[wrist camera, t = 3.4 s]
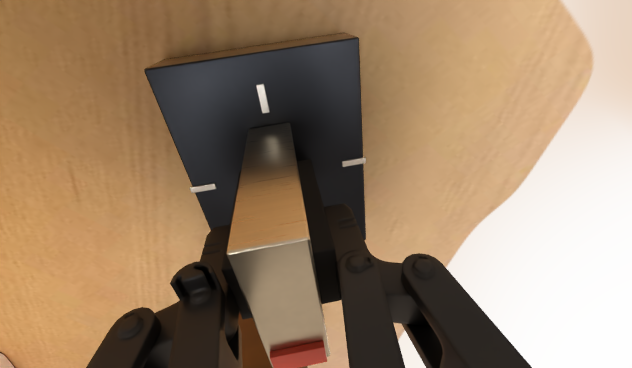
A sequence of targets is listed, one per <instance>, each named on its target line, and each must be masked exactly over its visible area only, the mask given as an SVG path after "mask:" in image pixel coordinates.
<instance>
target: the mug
mask: <svg viewBox="0 0 632 368" xmlns="http://www.w3.org/2000/svg"><path fill="white" fill-rule="evenodd" d="M238 324H239V326H240V329H241V333H242V364H243V368H273V367H272V365H271V363H270V360H269V358H268V355H267V353H266V350H265V348H264V345H263V343H262V340H261V338H260V335H259V333H258V330H257V328H256V326H255V323H254V321H253V318H248V319H242V316H241V314H240V312H239V319H238ZM299 368H307V366H303V367H299Z"/></svg>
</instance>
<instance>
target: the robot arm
mask: <svg viewBox="0 0 632 368" xmlns="http://www.w3.org/2000/svg"><path fill="white" fill-rule="evenodd" d="M297 166H298V172H299V178H300V183H301V189H302V195H303V201H304V206H305V212H306V218H307V224H308V229H309V235H310V241H311V246H312V252H313V258H314V264H315V269H316V275H317V281H318V286H319V292H320V298H321V304H324V303H329V302H334V301H339V300H342V306H343V315H344V324H345V332H346V341H347V350H348V359H349V367H350V368H405V365H404V362H403V358H402V354H401V351H400V347H399V343H398V339H397V335H396V332H395V328H394V324H393V322H394V323H401V324H402V325H403V327H404V329H405V331H406V332H407V334H408V336H409V338H410V340H411V341H412V343H413V345H414V347H415V348H416V350H417V352H418V354H419V355H420V357H421V359H422V361H423V363H424V364H425V366H426V368H532V367H531V366H530V365H529V364H528V363H527V361H526V360H525V359H524V358H523V357H522V356H521V355H520V353H519V352H518V351H517V350H516V349H515V348H514V346H513V345H512V344H511V343H510V342H509V341H508V339H507V338H506V337H505V336H504V335H503V334H502V333H501V331H500V330H499V329H498V328H497V327H496V326H495V325H494V323H493V322H492V321H491V320H490V319H489V317H488V316H487V315H486V314H485V313H484V312H483V311H482V309H481V308H480V307H479V306H478V305H477V304H476V302H475V301H474V300H473V299H472V298H471V297H470V296H469V294H468V293H467V292H466V291H465V290H464V289H463V287H462V286H461V285H460V284H459V283H458V282H457V280H456V279H455V278H454V277H453V276H452V275H451V274H450V272H449V271H448V270H447V269H446V268H445V267H444V265H443V264H442V263H441V262H440V261H438V260H437V259H436V258H434V257H432V256H430V255H426V254H412V255H410V256H408V257H406V258H405V260H404V261H403V263H392V262H385V261H382V260H379V259H377V258H375V257H374V256H373V255H372V254H371V253H370V252H369V250H368V249H367V246H366V244H365V241H364V239H363V236H362V234H361V231H360V229H359V226H358V224H357V221H356V219H355V217H354V214H353V212H352V209H351V208H349V207H348V206H347V205H346V204H345V203H343V204H337V205H332V206H326V207H324V205H323V202H322V198H321V194H320V191H319V187H318V183H317V180H316V176H315V172H314V169H313V165H312V161H311V159H309V160H303V161H297ZM240 175H241V171H239V177H238V182H237V188H236V193H235V198H234V204H233V209H232V214H231V220H230V225H225V226H219V227H214V228H213V229H212V230H211V232H210V233H209V234H208V235H207V237H206V241H205V245H204V248H203V252H202V255H201V259H200V262H194V263H191V264H189V265H186V266H185V267H183V268H182V269H180V270H179V271H178V272H177V273H176V274H175V275H174V277H173V278H172V281H171V283H170V284H171V286H172V287H173V289H174V291H175V292H176V294H177V296H178V297H179V299H180V301H178V302H177V303H175V304H173V305H171V306H169V307H167V308H165V309H163V310H161V311H158V312H156V313H154V312H153V311H152V310H150V309H149V308H143V307H142V308H138V309H134V310H132V311H130V312H128V313H126V314H124V315H123V316H122V317H121V318H120V319H118V320H117V321H116V322H115V324H114V325H113V326H112V327H111V329H110V330H109V332H108V333H107V335H106V337H105V338H104V340H103V341H102V343H101V345H100V346H99V348H98V350H97V351H96V353H95V354H94V356H93V358H92V359H91V361H90V362H89V364H88V366H87V367H86V368H243V364H242V333H241V329H240V326H239V324H238V319H239V312H240V314H241V316H242V319H248V318H252V316H251V313H250V311H249V308H248V306H247V303H246V301H245V298H244V296H243V293H242V291H241V288H240V286H239V283H238V281H237V278H236V276H235V273H234V271H233V268H232V266H231V263H230V261H229V258H228V256H227V248H228V242H229V237H230V231H231V225H232V220H233V214H234V209H235V203H236V197H237V192H238V186H239V180H240Z"/></svg>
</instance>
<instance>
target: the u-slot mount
mask: <svg viewBox="0 0 632 368" xmlns="http://www.w3.org/2000/svg"><path fill="white" fill-rule="evenodd" d="M0 368H14V366H13V365H12V364H11V363H10V361H9V360H8V359H7V358H6V357H5V356H4V355H3V354H1V353H0Z"/></svg>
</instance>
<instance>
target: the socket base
mask: <svg viewBox="0 0 632 368" xmlns="http://www.w3.org/2000/svg"><path fill="white" fill-rule="evenodd" d="M144 71H145V74H146V76H147V79H148V81H149V83H150V86H151V88H152V90H153V93H154V95H155V98H156V100H157V102H158V105H159V107H160V110H161V112H162V114H163V117H164V119H165V122H166V124H167V126H168V129H169V131H170V133H171V136H172V138H173V141H174V143H175V145H176V148H177V150H178V153H179V155H180V157H181V160H182V162H183V165H184V167H185V169H186V172H187V174H188V177H189V179H190V181H191V184H192V186H191V187H190V190H191V192H192V193H196V196H197V198H198V200H199V203H200V205H201V208H202V210H203V212H204V215H205V217H206V220H207V222H208V224H209V227H210V229H211V230H212V229H213V228H214V227H219V226H225V225H230V220H231V214H232V209H233V204H234V198H235V193H236V188H237V182H238V177H239V171H241V169H242V164H243V158H244V152H245V147H246V141H247V135H248V130H249V129H253V128H259V127H265V126H271V125H277V124H283V123H290V126H291V132H292V138H293V143H294V149H295V155H296V161H303V160H309V159H311V161H312V165H313V169H314V172H315V176H316V180H317V183H318V187H319V191H320V194H321V198H322V202H323V205H324V207H326V206H332V205H337V204H343V203H345V204H346V205H347V206H348V207H349V208H351V209H352V212H353V214H354V217H355V219H356V221H357V224H358V226H359V229H360V231H361V234H362V236H363V239H364V240H366V228H365V200H364V171H363V163H366V157H363V142H362V113H361V85H360V56H359V38H358V37H355V36H352V35H349V34H346V33H339V34H333V35H326V36H319V37H312V38H306V39H299V40H292V41H285V42H278V43H272V44H265V45H258V46H251V47H245V48H238V49H231V50H224V51H218V52H211V53H204V54H197V55H191V56H184V57H177V58H170V59H164V60H162V61H160V62H158V63H156V64H154V65H152V66H150V67H148V68H146V69H144Z"/></svg>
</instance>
